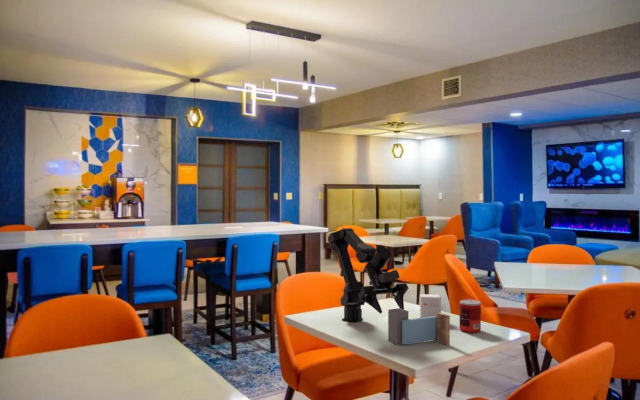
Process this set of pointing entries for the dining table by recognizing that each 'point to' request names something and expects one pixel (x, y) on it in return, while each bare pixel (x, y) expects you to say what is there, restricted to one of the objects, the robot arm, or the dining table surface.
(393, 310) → the block
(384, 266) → the robot arm
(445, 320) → the brown wooden block
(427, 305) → the small box
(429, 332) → the gate
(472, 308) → the canned food
